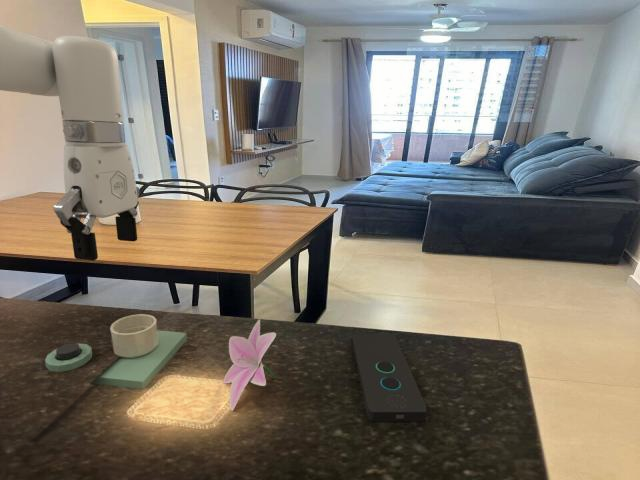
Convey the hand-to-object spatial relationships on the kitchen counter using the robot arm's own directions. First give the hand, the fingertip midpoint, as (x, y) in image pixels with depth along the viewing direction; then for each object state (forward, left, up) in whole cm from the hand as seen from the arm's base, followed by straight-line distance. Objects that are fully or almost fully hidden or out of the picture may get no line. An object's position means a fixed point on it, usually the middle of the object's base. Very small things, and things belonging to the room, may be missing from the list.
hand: (108, 249), depth 59 cm
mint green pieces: (+1, -1, -19) cm, 19 cm away
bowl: (+3, 0, -17) cm, 17 cm away
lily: (+24, -5, -19) cm, 31 cm away
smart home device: (+44, +1, -19) cm, 48 cm away
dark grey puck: (-5, -5, -16) cm, 18 cm away
